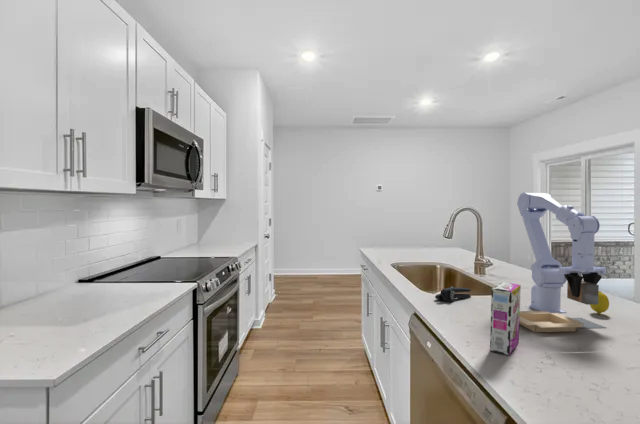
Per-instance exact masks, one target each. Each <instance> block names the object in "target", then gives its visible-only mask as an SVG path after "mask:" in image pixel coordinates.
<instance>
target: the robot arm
mask: <svg viewBox="0 0 640 424" xmlns="http://www.w3.org/2000/svg"><path fill="white" fill-rule="evenodd" d="M516 205H517V207H518V211H519V213H520V216H521V217H522V221H523V223H524V228H525V232H526V234H527V238H528V239H529V243H530V246H531V250H532V251H533V255H534V256H533V257H534V258H535V259H534V260H535V261H534V262H533V263H532V264H531V266H530V270H531V279H532V281H533V283H534V284H533V286H531V290H530V304H528V307H529V308H532V309H535V310H536V311H547V312H550V313H560V314H567V313H568V312H567V311H566V310H562V309H561V301H562V300H561V298H562V293H561V292H562V288H563V287H564V285H565V284H566V283H569V286H570V289H571V292H572V296H575V297H579V295H580V285H581V282H582V281H585V282H589V283H593V284H597V285H598V283H599V282H600V280H602V275H606V274H607V267H603V266H595V234H597V233H598V232H599V230H600V228H601V227H600V225H601V224H600V221H599V219H598V218H597V217H596V216H595V215H588V216H587V215H585V214H584V212H583V211H579V210H578V209H575V208H574V206H573V205H572V204H570V205H569V204H568V205H563V204H560V202H558V201H556V199H554V198H553V196H552V195H551V194H549V193H547V192H521V193H520V194H519V195H518V199H517V202H516ZM547 211H548V212H551V213H553V214H554V215H555V218H556V220H558V221H559V222H561V223H562V224H563V225H565V226H567V229H568V231H569V232H570V239H572V242H571V266H563V265H562V263H561V262H560V261H558V260H557V259H555V258H554V257H553V255H552V252H551V249H550V246H549V244H548V240H547V237H546V235H545V232H544V229H543V226H542V223H541V220H540V218H542V217H544V216H545V214H546V212H547ZM580 274H581V275H580ZM601 274H602V275H601Z"/></svg>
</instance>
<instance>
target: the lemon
mask: <svg viewBox="0 0 640 424" xmlns="http://www.w3.org/2000/svg"><path fill="white" fill-rule="evenodd" d="M589 306H590V308H591V310H593V311H594V312H595V313H596V314H598V315H601V314H602V313H605V312H606V311H608V309H610V308H609V307H610V300H609V298H608V295H606V294H605V293H603V292H602V291H601V290H600V291H599V292H598V304H591V305H589Z"/></svg>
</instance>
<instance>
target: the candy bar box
mask: <svg viewBox="0 0 640 424" xmlns="http://www.w3.org/2000/svg"><path fill="white" fill-rule="evenodd" d="M490 307H491V308H490V335H489V336H490V338H489V339H490V340H489V341H490V342H489V343H490V344H489V351H490V352H494V353H498V354H502V355H504V356H505V355H506V356H510V355H511V353H513V351H514V350H515V349H516V347H517V346H518V344H519V342H520V324H519V315H520V311H521V284H517V283H511V282H510V283H509V282H500V283H499V284H498V285H496V286H494V287H492V288H491V305H490Z"/></svg>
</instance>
